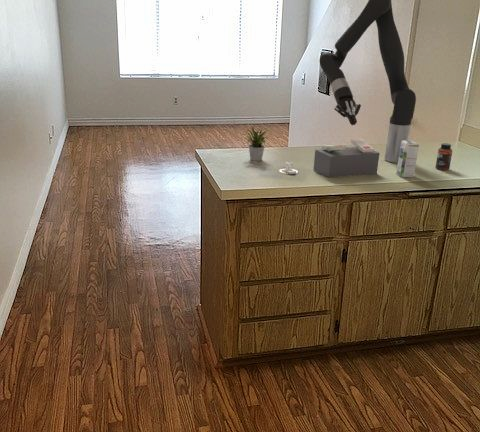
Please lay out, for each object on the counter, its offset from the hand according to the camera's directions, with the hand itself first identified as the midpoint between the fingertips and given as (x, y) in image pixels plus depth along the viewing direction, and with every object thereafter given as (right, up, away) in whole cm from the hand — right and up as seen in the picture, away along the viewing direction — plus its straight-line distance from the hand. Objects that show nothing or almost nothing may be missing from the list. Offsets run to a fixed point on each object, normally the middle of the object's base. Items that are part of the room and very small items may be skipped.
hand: (354, 124), depth 226 cm
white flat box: (+2, -10, -3) cm, 11 cm away
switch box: (-4, -21, -2) cm, 21 cm away
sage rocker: (-10, -12, -8) cm, 18 cm away
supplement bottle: (+41, -19, +8) cm, 46 cm away
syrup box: (+21, -23, -4) cm, 31 cm away
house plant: (-43, -14, +11) cm, 47 cm away
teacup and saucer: (-31, -22, -7) cm, 39 cm away
